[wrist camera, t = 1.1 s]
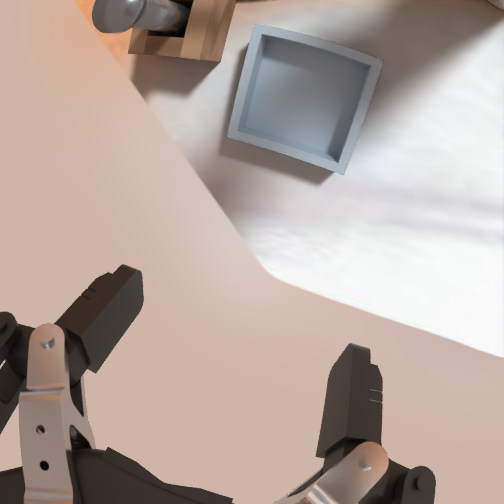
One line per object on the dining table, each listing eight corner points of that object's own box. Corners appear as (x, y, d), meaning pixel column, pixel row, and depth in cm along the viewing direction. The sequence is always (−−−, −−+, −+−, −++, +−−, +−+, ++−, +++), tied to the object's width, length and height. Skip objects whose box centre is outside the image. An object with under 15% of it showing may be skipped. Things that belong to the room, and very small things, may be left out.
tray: (263, 29, 26) (254, 23, 23) (377, 63, 25) (383, 60, 22) (237, 131, 34) (226, 137, 30) (342, 165, 33) (343, 175, 29)
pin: (180, 6, 26) (99, -17, 14) (217, 8, 25) (146, -24, 13) (172, 40, 29) (87, 34, 17) (208, 44, 28) (132, 32, 16)
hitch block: (170, -8, 25) (144, -17, 20) (237, -5, 24) (219, -18, 19) (155, 54, 30) (127, 53, 25) (220, 62, 29) (199, 59, 24)
